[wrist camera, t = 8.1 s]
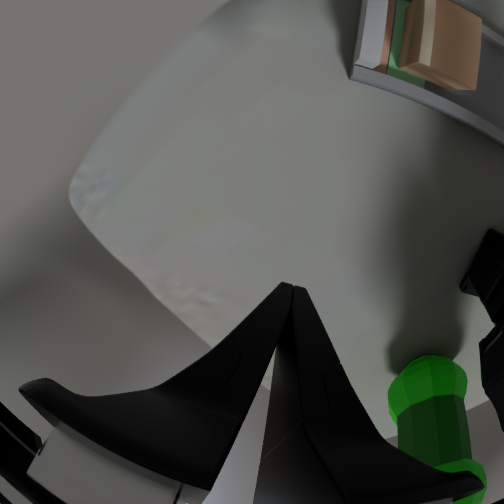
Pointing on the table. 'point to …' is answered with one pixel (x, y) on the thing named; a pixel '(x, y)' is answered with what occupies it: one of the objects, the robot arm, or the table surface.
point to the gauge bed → (418, 89)
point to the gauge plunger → (441, 44)
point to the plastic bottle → (434, 417)
